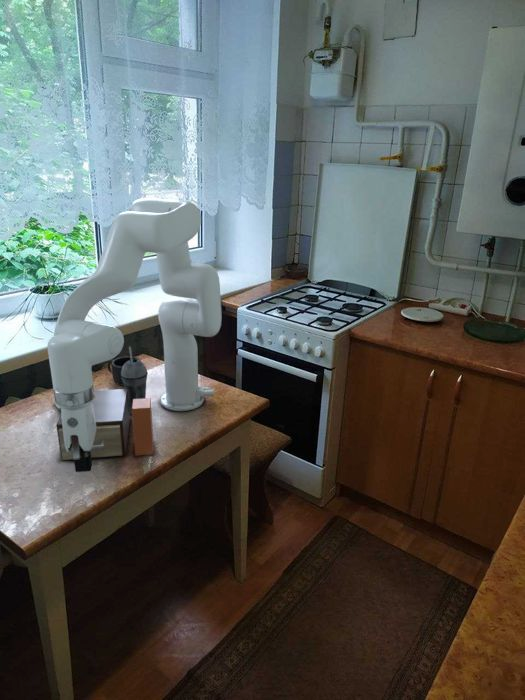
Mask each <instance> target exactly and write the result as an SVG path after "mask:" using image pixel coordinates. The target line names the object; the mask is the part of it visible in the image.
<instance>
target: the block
mask: <svg viewBox="0 0 525 700" xmlns="http://www.w3.org/2000/svg"><path fill="white" fill-rule="evenodd" d="M152 411H153V410H152V398H151V397H146V398H144V399H133V404H132V415H131V416H132V427H133V428H132V429H133V441H134V443H133V444H134V453H135V456H147V455H150V456H151V455H154V430H153V413H152Z"/></svg>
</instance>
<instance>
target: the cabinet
mask: <svg viewBox="0 0 525 700" xmlns="http://www.w3.org/2000/svg"><path fill="white" fill-rule="evenodd" d="M94 396H95V399H94V401H93V408H94V414H95V420H96V425H112V424H120V431H121V442H122V455H119V456H118V457H123V456H126V454H127V453H126V452H127V447H128V439H129V438H128V437H129V431H130V430H129V429H130V423H131V419H130V417H131V416H130V413H129V404H128V392H127V389H124V388H121V389H120V388H118V389H117V388H116V389H102V390H101V389H99V390H98V389H97V390H94ZM61 417H62V415H61V413H60V414H59V417H58V419H57V422H56V425H55V426H56V432H57V433H56V434H57V439H58V446H59V454H60V460H61V461H69V460H70V461H71V460H73V459H64V460H63V459H62V452H61V445H60V438H59V428H63V426H62V418H61ZM111 457H112V458H113V456H105V457H104V458H111ZM96 458H100V457H91V459H96Z"/></svg>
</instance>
